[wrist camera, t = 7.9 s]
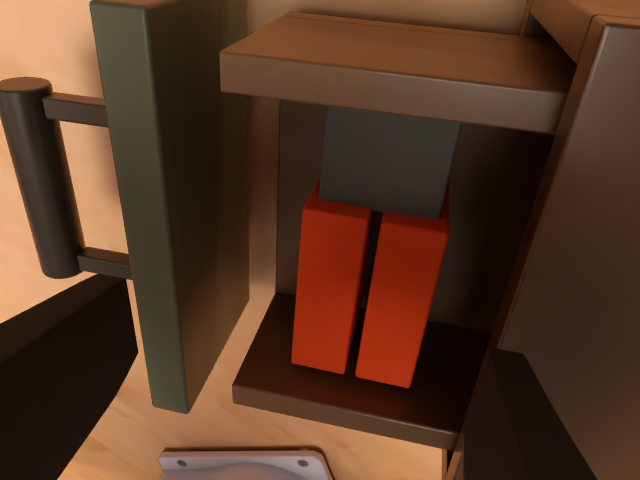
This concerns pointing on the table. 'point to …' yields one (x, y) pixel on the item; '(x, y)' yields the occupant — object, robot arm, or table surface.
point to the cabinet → (584, 243)
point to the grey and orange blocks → (355, 239)
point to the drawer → (287, 189)
